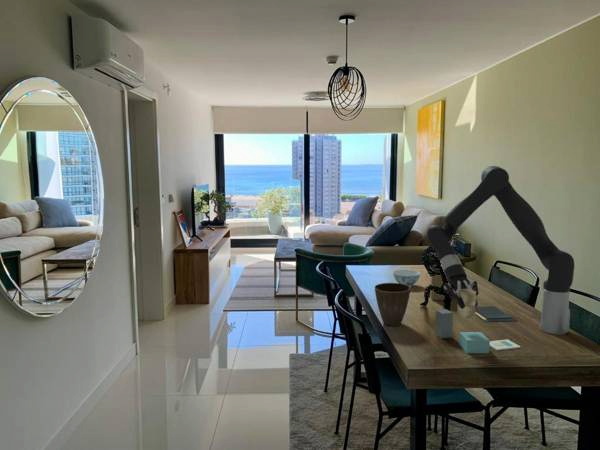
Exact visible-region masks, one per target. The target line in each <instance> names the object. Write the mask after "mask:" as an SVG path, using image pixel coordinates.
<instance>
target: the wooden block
mask: <svg viewBox="0 0 600 450" xmlns="http://www.w3.org/2000/svg"><path fill="white" fill-rule="evenodd" d="M430 279H431V280H430V286H431V285H434V286H438V287H441V285H442V284H443V282H442V279H441V276H440V275H435V276H431V277H430ZM430 298H431V300H433V301H438V302H439V301H442V302H443V300H444V296H443V295H438V294H436V293H435V292H434V291H431V290H430Z"/></svg>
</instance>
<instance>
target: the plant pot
mask: <svg viewBox="0 0 600 450" xmlns="http://www.w3.org/2000/svg"><path fill="white" fill-rule="evenodd" d="M374 293H375V298H376V299H375V300H376V303H377V308H378V310H379V311H378V312H379V314H380V317H381V320H382V323H383V324H384V325H385V326H388V325H390V326H389V327H397V326H398V325H399V326H400V325H401V324H402V322H403V319H404V317H405V314H406V311H407V308H408V304H409V299H410V293H411V287H409V286H407V285H404V284H399V283H398V282H396V283H395V282H384V283H377V284H376V285H375V286H374Z"/></svg>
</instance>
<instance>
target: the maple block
mask: <svg viewBox="0 0 600 450" xmlns="http://www.w3.org/2000/svg"><path fill="white" fill-rule="evenodd" d="M471 289H472V288H471ZM471 289H461V290H460V294H461V298H462V299H463V302H464V304H465V307H464V309H461V307H459V305H458V304H457V308H456V309H457V312H456V313H457V314H456V315H457V316H459V317H460V318H462V319H475V318H476V315H475V304H476V300H477V296H476V291H473V290H471Z"/></svg>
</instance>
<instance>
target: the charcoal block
mask: <svg viewBox="0 0 600 450" xmlns="http://www.w3.org/2000/svg"><path fill="white" fill-rule="evenodd" d="M453 314H454V313H453V312H452V311H450V310H449V309H436V310H435V335H436V336H438V337H439V338H440V339H447V338H448V339H450V338H452V337H453V318H454V317H453V316H454V315H453Z"/></svg>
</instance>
